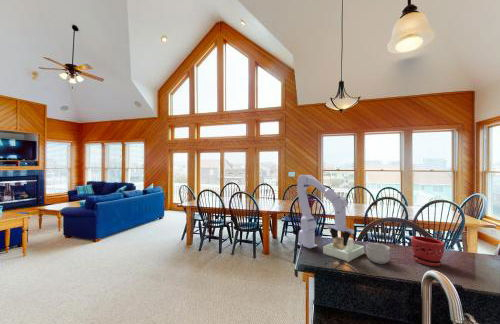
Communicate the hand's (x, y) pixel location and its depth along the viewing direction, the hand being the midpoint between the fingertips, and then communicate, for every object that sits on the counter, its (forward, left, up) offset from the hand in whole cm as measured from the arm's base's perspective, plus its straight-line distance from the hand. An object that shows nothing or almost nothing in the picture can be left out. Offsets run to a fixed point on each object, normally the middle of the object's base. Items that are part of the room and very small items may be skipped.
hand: (340, 244), depth 120 cm
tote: (0, +4, -6) cm, 7 cm away
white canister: (0, +9, -6) cm, 11 cm away
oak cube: (0, 0, -2) cm, 2 cm away
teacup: (+16, +9, -6) cm, 19 cm away
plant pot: (+33, +27, -6) cm, 43 cm away
